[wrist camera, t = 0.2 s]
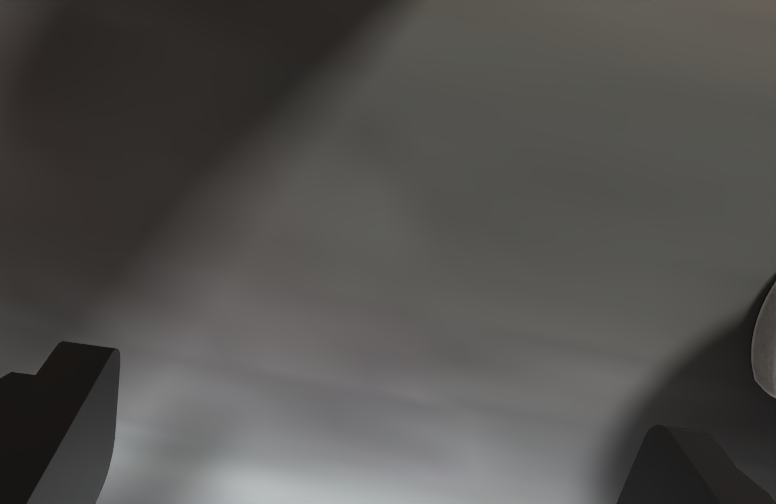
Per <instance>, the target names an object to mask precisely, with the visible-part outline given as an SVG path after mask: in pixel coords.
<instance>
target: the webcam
mask: <svg viewBox="0 0 776 504" xmlns="http://www.w3.org/2000/svg"><path fill="white" fill-rule="evenodd" d="M751 362H752V368H753V373H754V379H755V381H756V382H757V383H758V384H759V385H760V386H761V387H762V388H763V390H764V391H766V392H767V393H768V394H769V395H770V396H772V397H774V398H776V282H775V283H774V285H773V286H772V288H771V290H770V292H769V293H768V295H767V297H766V299H765V301H764V303H763V305H762V307H761V310H760V313H759V316H758V318H757V321H756V325H755V329H754V333H753V339H752V350H751Z"/></svg>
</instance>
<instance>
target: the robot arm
mask: <svg viewBox="0 0 776 504" xmlns="http://www.w3.org/2000/svg"><path fill="white" fill-rule="evenodd" d="M119 372H120V353H119V350H118V349H115V348H108V347H101V346H94V345H86V344H79V343H72V342H65V341H62V342H60V343H59V344H58V345H57V346H56V348H55V349H54V350H53V352H52V353H51V355H50V356H49V357H48V359H47V360H46V361H45V363H44V364H43V366H42V367H41V368H40V370H39V371H38V373H37V374H36V375H30V374H22V373H15V372H11V373H9V374H7V375H5V376H4V377H2V378H0V504H95V503H96V500H97V498H98V496H99V494H100V491H101V489H102V487H103V484H104V482H105V479H106V476H107V473H108V470H109V466H110V462H111V458H112V453H113V447H114V440H115V428H116V414H117V400H118V386H119ZM617 504H776V503H775V501H774V500H773V499H772V498H771V496H770V495H769V494H768V493H767V492H766V491H764V490H763V489H762V488H761V487H759V486H758V485H757V484H756V483H754V482H753V481H752V480H751V479H750V478H748V477H747V476H746V475H745V474H743V473H742V472H741V471H740V470H738V469H737V468H736V466H735V465H734V464H733V463H732V461H731V460H730V459H729V458H728V456H727V455H726V454H725V452H724V451H723V450H722V449H721V447H720V446H719V445H718V444H717V442H716V441H715V440H714V438H713V437H712V436H711V435H710V434H708V433H707V432H705V431H700V430H693V429H685V428H678V427H671V426H663V425H656V426H654V427H652V428H651V429H650V430H649V431H648V432H647V434H646V436H645V438H644V440H643V443H642V445H641V447H640V450H639V452H638V454H637V457H636V459H635V461H634V464H633V466H632V468H631V471H630V473H629V475H628V478H627V480H626V482H625V485H624V487H623V489H622V492H621V494H620V497H619V499H618V502H617Z"/></svg>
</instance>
